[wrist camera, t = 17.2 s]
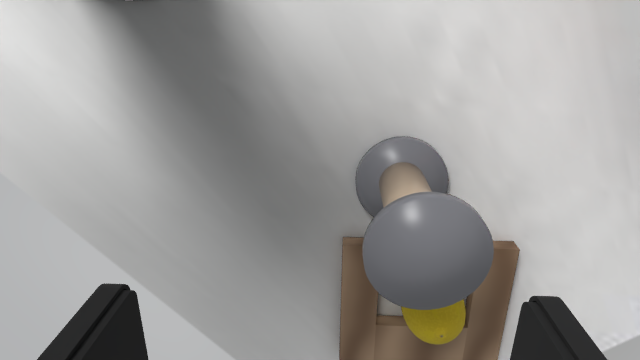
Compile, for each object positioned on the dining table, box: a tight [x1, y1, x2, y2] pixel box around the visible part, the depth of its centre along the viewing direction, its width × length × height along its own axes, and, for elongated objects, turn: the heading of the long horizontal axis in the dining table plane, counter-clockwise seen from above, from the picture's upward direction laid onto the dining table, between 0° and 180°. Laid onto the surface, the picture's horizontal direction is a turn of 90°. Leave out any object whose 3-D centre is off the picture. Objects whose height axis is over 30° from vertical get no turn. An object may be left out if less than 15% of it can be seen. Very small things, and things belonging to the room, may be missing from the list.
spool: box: [356, 137, 494, 310], centre depth 33 cm, size 8×8×13 cm
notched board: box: [339, 237, 520, 360], centre depth 43 cm, size 16×14×2 cm
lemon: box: [401, 300, 466, 345], centre depth 39 cm, size 6×6×8 cm
